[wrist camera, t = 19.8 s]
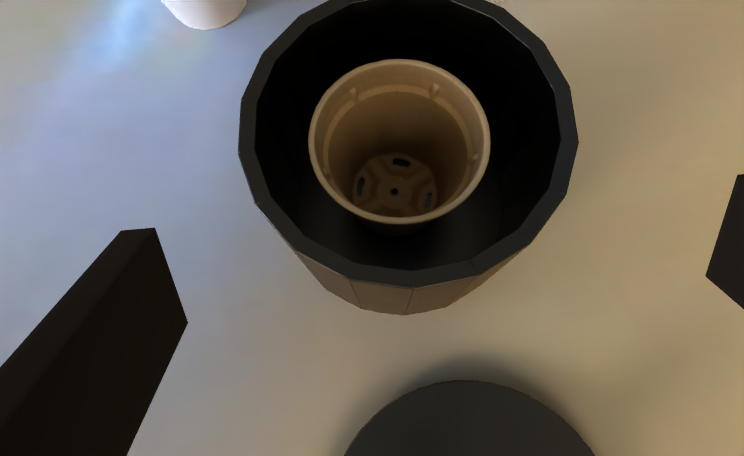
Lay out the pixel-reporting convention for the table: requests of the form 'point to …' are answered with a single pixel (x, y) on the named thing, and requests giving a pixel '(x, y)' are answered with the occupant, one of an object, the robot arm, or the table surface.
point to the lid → (467, 425)
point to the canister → (443, 234)
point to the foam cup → (205, 12)
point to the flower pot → (399, 143)
